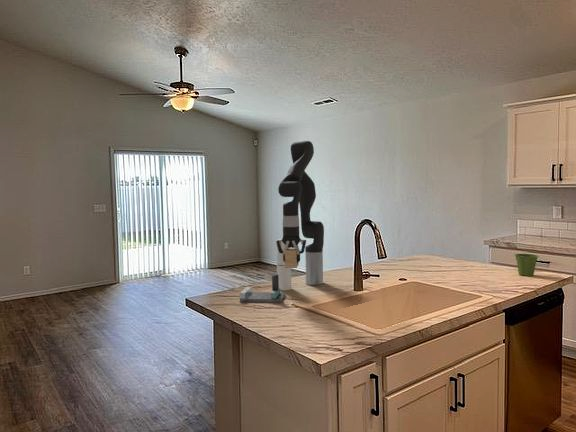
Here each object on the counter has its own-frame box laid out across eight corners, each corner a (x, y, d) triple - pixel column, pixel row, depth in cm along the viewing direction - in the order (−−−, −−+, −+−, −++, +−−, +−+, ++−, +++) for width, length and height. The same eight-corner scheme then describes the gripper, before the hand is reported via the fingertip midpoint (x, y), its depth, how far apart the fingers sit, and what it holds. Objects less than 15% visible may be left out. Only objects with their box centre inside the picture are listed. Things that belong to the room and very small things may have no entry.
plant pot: (543, 276, 238) (543, 255, 237) (527, 278, 233) (528, 257, 232) (524, 272, 249) (524, 252, 248) (509, 274, 244) (509, 254, 243)
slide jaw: (274, 292, 206) (274, 272, 206) (281, 292, 206) (280, 272, 205) (270, 298, 195) (269, 277, 195) (276, 298, 195) (276, 277, 194)
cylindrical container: (279, 290, 216) (278, 241, 214) (275, 287, 223) (274, 239, 221) (293, 289, 218) (292, 240, 216) (289, 286, 225) (288, 238, 223)
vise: (246, 295, 209) (246, 286, 209) (285, 295, 206) (285, 287, 206) (239, 301, 197) (239, 293, 197) (280, 302, 194) (280, 294, 194)
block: (287, 264, 202) (287, 247, 202) (298, 265, 201) (298, 248, 201) (285, 268, 195) (284, 250, 194) (296, 268, 194) (295, 250, 193)
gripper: (307, 224, 199) (308, 261, 201) (276, 224, 202) (277, 260, 203) (305, 226, 192) (306, 264, 193) (274, 226, 194) (274, 263, 195)
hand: (291, 262), depth 198 cm, fingers closed on block, 5 cm apart
